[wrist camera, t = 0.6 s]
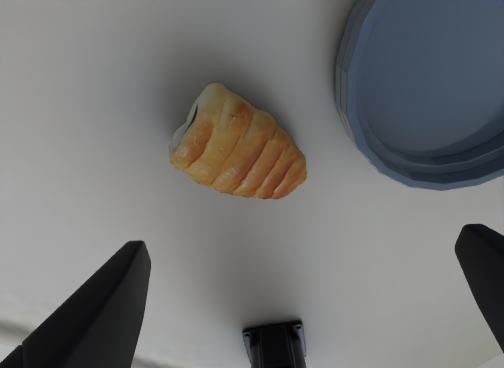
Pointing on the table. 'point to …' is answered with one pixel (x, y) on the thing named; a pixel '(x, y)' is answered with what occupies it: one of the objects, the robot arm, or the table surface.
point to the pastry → (236, 148)
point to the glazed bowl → (425, 89)
